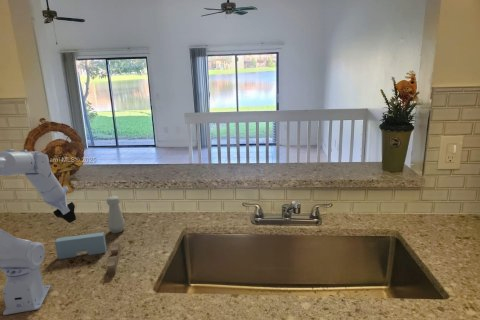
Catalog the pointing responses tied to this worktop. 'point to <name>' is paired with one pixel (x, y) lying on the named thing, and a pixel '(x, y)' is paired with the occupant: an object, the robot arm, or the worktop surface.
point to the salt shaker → (115, 215)
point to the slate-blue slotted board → (80, 245)
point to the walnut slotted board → (113, 258)
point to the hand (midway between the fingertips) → (67, 213)
